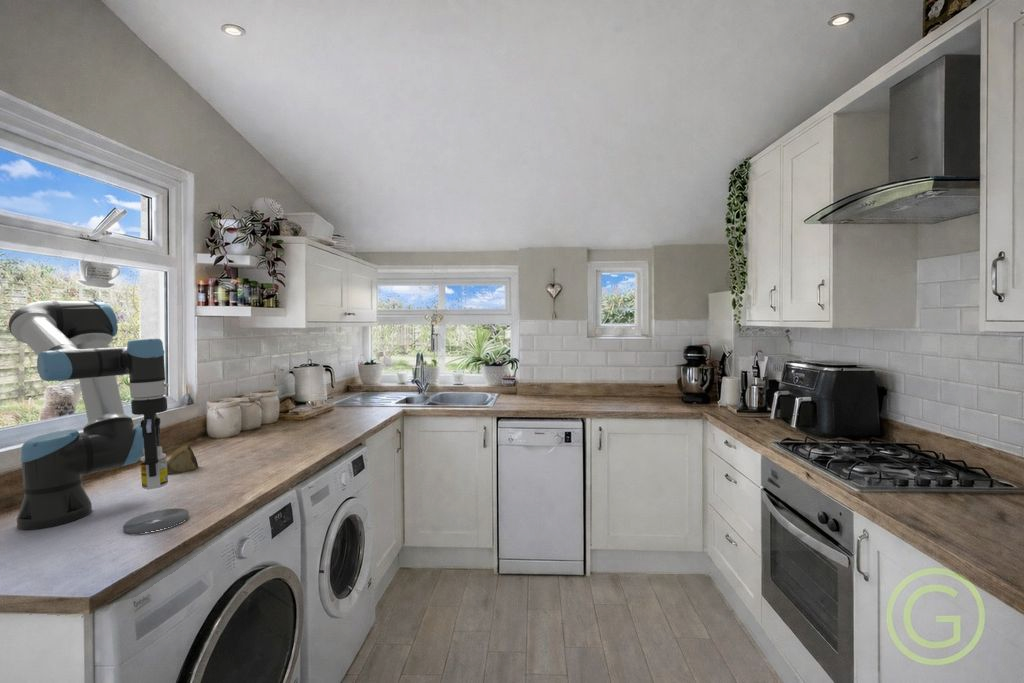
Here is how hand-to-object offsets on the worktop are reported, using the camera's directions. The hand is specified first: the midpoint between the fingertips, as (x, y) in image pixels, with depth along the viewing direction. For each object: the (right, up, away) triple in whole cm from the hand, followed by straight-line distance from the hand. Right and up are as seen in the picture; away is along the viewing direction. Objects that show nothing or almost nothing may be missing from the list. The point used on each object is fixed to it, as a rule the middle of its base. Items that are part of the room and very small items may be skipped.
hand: (154, 484), depth 129 cm
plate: (0, -10, 0) cm, 10 cm away
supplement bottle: (0, -1, 0) cm, 1 cm away
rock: (-26, -9, +48) cm, 56 cm away
